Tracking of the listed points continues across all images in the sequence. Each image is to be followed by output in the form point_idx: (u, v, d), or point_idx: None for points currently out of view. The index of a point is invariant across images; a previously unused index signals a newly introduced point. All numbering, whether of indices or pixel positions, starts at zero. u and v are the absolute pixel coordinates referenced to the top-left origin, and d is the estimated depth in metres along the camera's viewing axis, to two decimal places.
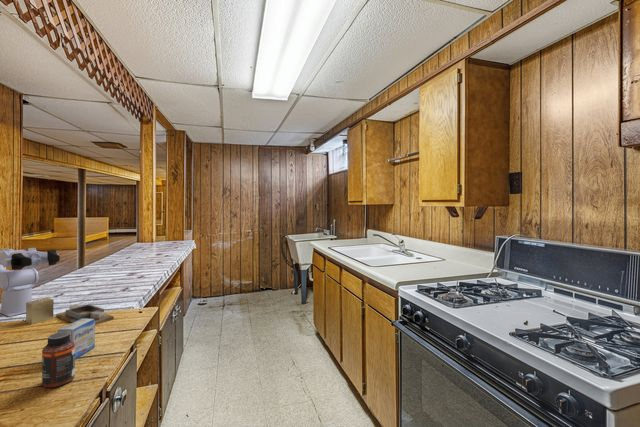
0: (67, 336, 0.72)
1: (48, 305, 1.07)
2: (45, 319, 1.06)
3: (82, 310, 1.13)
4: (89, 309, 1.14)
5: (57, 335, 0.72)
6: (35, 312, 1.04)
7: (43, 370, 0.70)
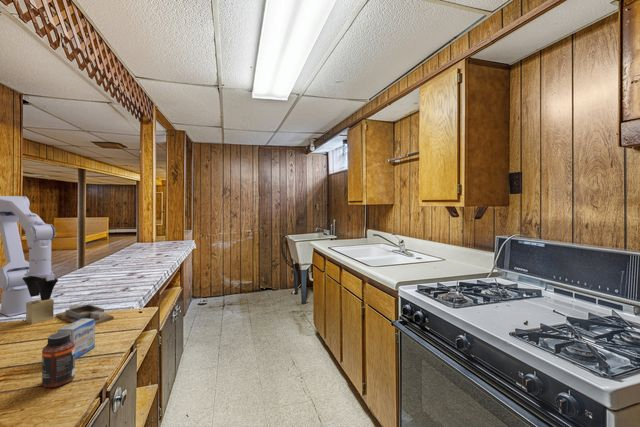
0: (67, 336, 0.72)
1: (48, 305, 1.07)
2: (45, 319, 1.06)
3: (82, 310, 1.13)
4: (89, 309, 1.14)
5: (57, 335, 0.72)
6: (35, 312, 1.04)
7: (43, 370, 0.70)
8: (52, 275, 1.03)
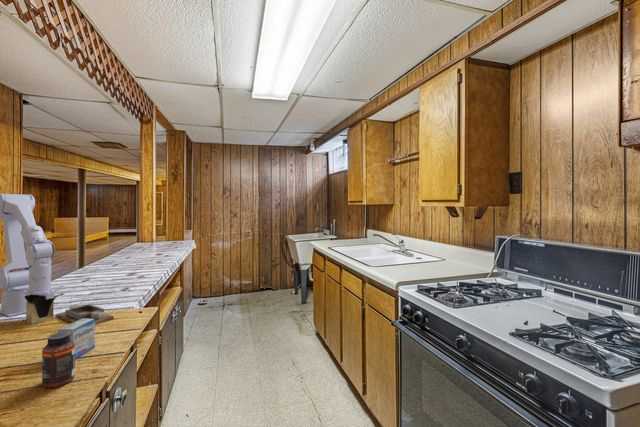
0: (67, 336, 0.72)
1: None
2: (45, 319, 1.06)
3: (82, 310, 1.13)
4: (89, 309, 1.14)
5: (57, 335, 0.72)
6: (35, 312, 1.04)
7: (43, 370, 0.70)
8: (52, 293, 1.03)
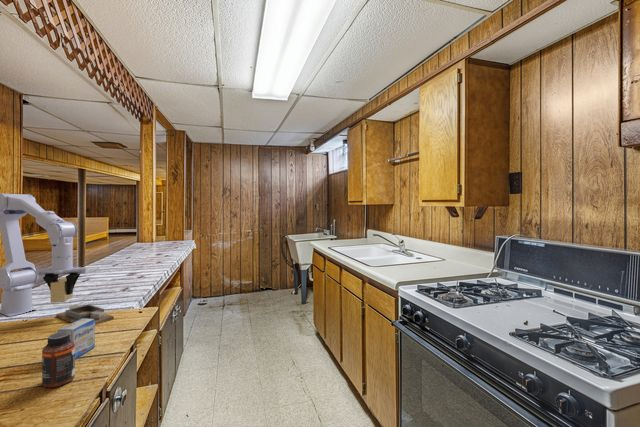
0: (67, 336, 0.72)
1: None
2: (69, 297, 1.09)
3: (82, 310, 1.13)
4: (89, 309, 1.14)
5: (57, 335, 0.72)
6: (66, 290, 1.06)
7: (43, 370, 0.70)
8: (87, 268, 1.10)
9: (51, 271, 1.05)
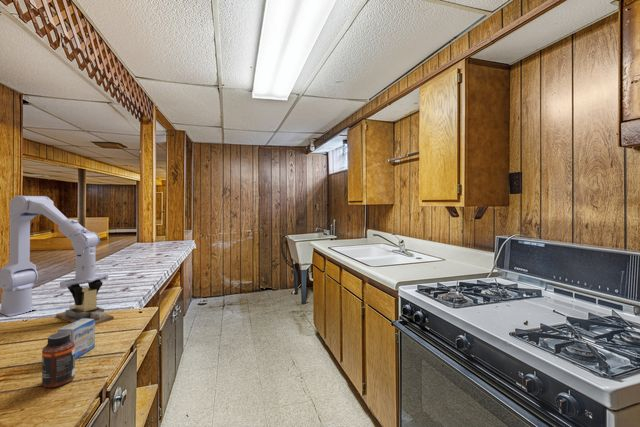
0: (67, 336, 0.72)
1: None
2: None
3: None
4: None
5: (57, 335, 0.72)
6: None
7: (43, 370, 0.70)
8: None
9: (82, 281, 1.07)
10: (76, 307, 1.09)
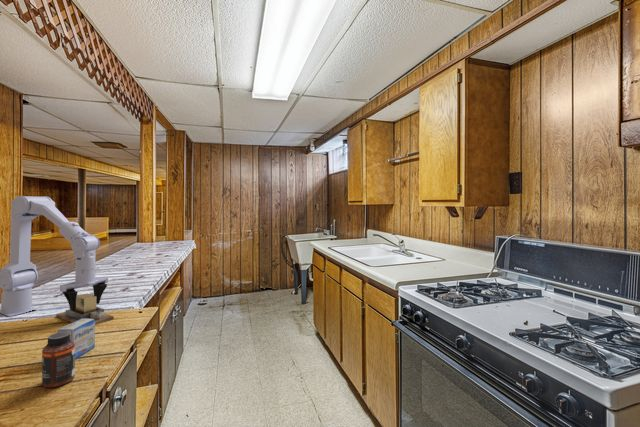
0: (67, 336, 0.72)
1: None
2: None
3: None
4: None
5: (57, 335, 0.72)
6: None
7: (43, 370, 0.70)
8: None
9: (82, 284, 1.07)
10: None
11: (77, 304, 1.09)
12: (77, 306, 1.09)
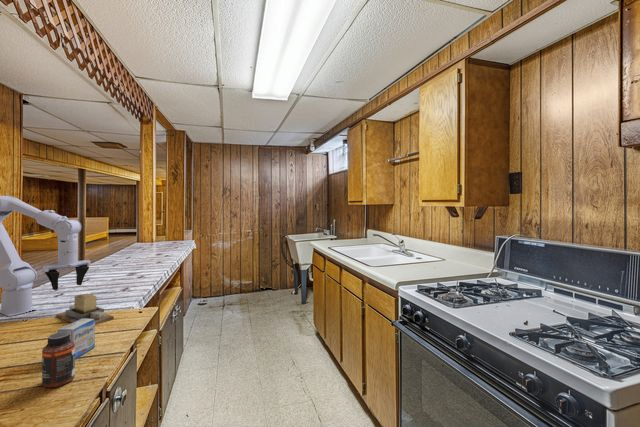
0: (67, 336, 0.72)
1: None
2: None
3: None
4: None
5: (57, 335, 0.72)
6: None
7: (43, 370, 0.70)
8: None
9: (64, 265, 1.12)
10: None
11: (77, 304, 1.09)
12: (77, 306, 1.09)
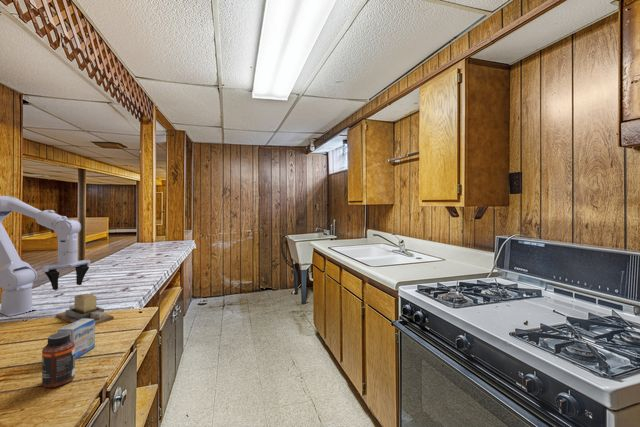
0: (67, 336, 0.72)
1: None
2: None
3: None
4: None
5: (57, 335, 0.72)
6: None
7: (43, 370, 0.70)
8: None
9: (64, 265, 1.12)
10: None
11: (77, 304, 1.09)
12: (77, 306, 1.09)
